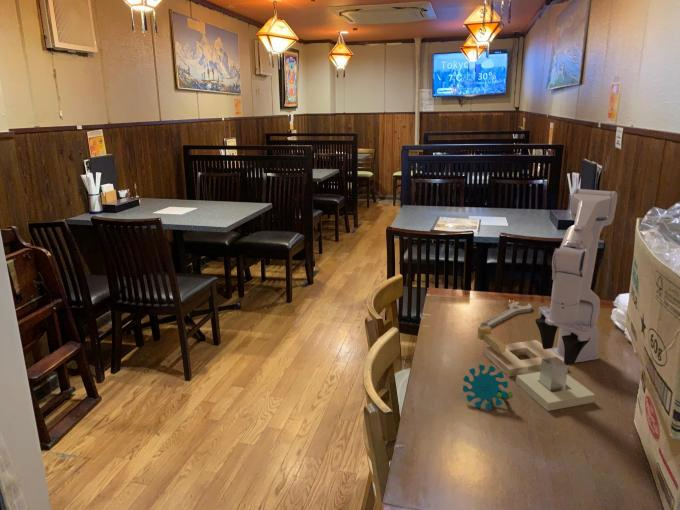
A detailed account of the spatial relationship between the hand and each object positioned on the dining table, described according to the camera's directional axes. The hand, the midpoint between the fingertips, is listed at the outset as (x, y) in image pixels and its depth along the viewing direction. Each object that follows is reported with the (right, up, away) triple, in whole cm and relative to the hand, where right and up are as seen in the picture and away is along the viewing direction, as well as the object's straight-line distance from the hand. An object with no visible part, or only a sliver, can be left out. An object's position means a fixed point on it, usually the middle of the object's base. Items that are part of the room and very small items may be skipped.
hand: (558, 355), depth 115 cm
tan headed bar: (-9, -1, +19) cm, 21 cm away
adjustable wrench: (+2, +3, +45) cm, 45 cm away
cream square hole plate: (0, -9, +3) cm, 9 cm away
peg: (-1, -9, +3) cm, 9 cm away
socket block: (-2, -5, +17) cm, 18 cm away
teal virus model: (-17, -10, -1) cm, 20 cm away
